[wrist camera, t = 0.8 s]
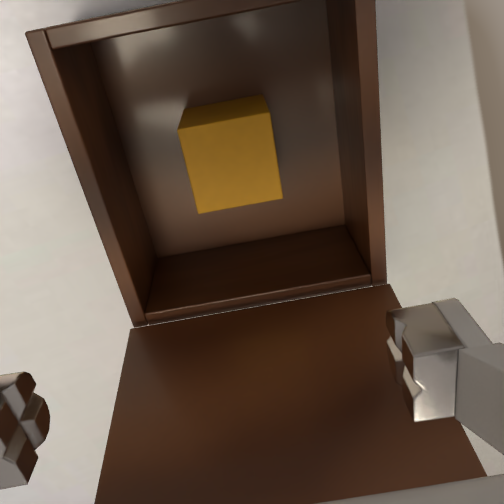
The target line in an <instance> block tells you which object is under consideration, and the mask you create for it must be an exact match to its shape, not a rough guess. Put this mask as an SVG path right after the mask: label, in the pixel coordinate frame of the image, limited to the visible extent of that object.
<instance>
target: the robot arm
mask: <svg viewBox="0 0 504 504" xmlns="http://www.w3.org/2000/svg"><path fill="white" fill-rule="evenodd" d="M386 327H387V329H388V331H389V333H390V335H391V336H390V337H389V339H388V340H387V354H388V359H389V364H390V368H391V371H392V374H393V376H394V379H395V381H396V383H397V384H399V385H401V386H402V387H403V399H404V401H405V403H406V406H407V408H408V410H409V412H410V414H411V416H412V419H413V421H414V422H419V421H427V420H434V419H442V418H449V417H455V419H456V420H458V421H459V422H460V423H462V424H463V425H464V426H466V427H467V428H468V429H470V430H471V431H472V432H474V433H475V434H476V435H478V436H479V437H480V438H482V439H483V440H484V441H486V442H487V443H488V444H490V445H491V446H492V447H494V448H495V449H496V450H498V451H499V452H500V453H502V454H503V455H504V344H502V343H495V344H493V343H492V342H491V341H490V339H489V338H488V337H487V336H486V334H485V333H484V332H483V330H482V329H481V328H480V327H479V325H478V324H477V323H476V322H475V320H474V319H473V318H472V317H471V315H470V314H469V313H468V311H467V310H466V309H465V308H464V306H463V305H462V304H461V303H460V301H459V300H458V299H456V298H451V299H446V300H440V301H435V302H432V303H428V304H423V305H417V306H411V307H405V308H400V309H394V310H388V311H386ZM35 387H36V383H35V381H34V379H33V378H32V376H31V374H30V373H27V372H18V373H11V374H4V375H0V489H6V488H11V487H16V486H21V485H27V484H28V482H29V479H30V477H31V474H32V472H33V470H34V467H35V465H36V462H37V460H38V456H37V454H36V451H35V450H36V449H37V448H38V447H39V446H40V445H41V444H42V443H43V442H44V441H45V439H46V437H47V434H48V431H49V424H50V414H49V410H48V406H47V404H46V402H45V400H44V398H42V397H40V396H39V395H37V394H35V393H34V389H35ZM315 504H504V474H500V475H494V476H487V477H481V478H474V479H468V480H462V481H455V482H449V483H443V484H436V485H430V486H423V487H417V488H411V489H404V490H398V491H392V492H385V493H379V494H373V495H366V496H360V497H353V498H347V499H340V500H334V501H328V502H321V503H315Z"/></svg>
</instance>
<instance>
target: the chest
mask: <svg viewBox="0 0 504 504" xmlns="http://www.w3.org/2000/svg"><path fill="white" fill-rule="evenodd" d="M25 35H26V38H27V40H28V43H29V46H30V49H31V51H32V54H33V57H34V59H35V62H36V65H37V67H38V70H39V73H40V75H41V78H42V81H43V84H44V86H45V89H46V92H47V94H48V97H49V100H50V102H51V105H52V108H53V111H54V113H55V116H56V119H57V121H58V124H59V127H60V129H61V132H62V135H63V138H64V140H65V143H66V146H67V148H68V151H69V154H70V156H71V159H72V162H73V164H74V167H75V170H76V173H77V175H78V178H79V181H80V183H81V186H82V189H83V191H84V194H85V197H86V200H87V202H88V205H89V208H90V210H91V213H92V216H93V218H94V221H95V224H96V227H97V229H98V232H99V235H100V237H101V240H102V243H103V245H104V248H105V251H106V253H107V256H108V259H109V262H110V264H111V267H112V270H113V272H114V275H115V278H116V280H117V283H118V286H119V289H120V291H121V294H122V297H123V299H124V302H125V305H126V307H127V310H128V313H129V316H130V318H131V321H132V324H133V326H134V327H141V326H146V325H148V324H149V325H152V324H158V323H164V322H169V321H175V320H181V319H187V318H192V317H198V316H204V315H209V314H215V313H221V312H227V311H232V310H238V309H244V308H249V307H255V306H261V305H267V304H272V303H278V302H284V301H289V300H295V299H301V298H307V297H312V296H318V295H324V294H329V293H335V292H341V291H347V290H352V289H358V288H364V287H369V286H371V285H372V286H377V285H383V284H387V273H386V249H385V225H384V201H383V177H382V153H381V129H380V105H379V82H378V58H377V34H376V10H375V0H179V1H174V2H169V3H164V4H159V5H154V6H149V7H144V8H139V9H134V10H129V11H124V12H119V13H114V14H109V15H104V16H99V17H94V18H89V19H84V20H79V21H74V22H69V23H64V24H60V25H55V26H50V27H46V28H41V29H36V30H31V31H27V32H25ZM260 94H262V95H263V96H264V99H265V101H266V104H267V106H268V109H269V111H270V115H271V121H272V128H273V134H274V141H275V148H276V154H277V161H278V167H279V174H280V180H281V187H282V193H283V198H282V199H278V200H272V201H267V202H261V203H256V204H250V205H245V206H239V207H234V208H228V209H223V210H218V211H212V212H207V213H201V214H198V212H197V208H196V204H195V200H194V196H193V192H192V188H191V184H190V180H189V176H188V172H187V168H186V164H185V160H184V156H183V152H182V148H181V144H180V140H179V136H178V132H177V129H178V126H179V123H180V120H181V117H182V114H183V110H184V109H187V108H192V107H197V106H203V105H208V104H213V103H218V102H224V101H229V100H234V99H239V98H245V97H250V96H255V95H260Z"/></svg>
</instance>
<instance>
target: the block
mask: <svg viewBox="0 0 504 504" xmlns="http://www.w3.org/2000/svg"><path fill="white" fill-rule="evenodd" d="M177 132H178V136H179V140H180V144H181V148H182V152H183V156H184V160H185V164H186V168H187V172H188V176H189V180H190V184H191V188H192V192H193V196H194V200H195V204H196V208H197V212H198V214H201V213H207V212H212V211H218V210H223V209H228V208H234V207H239V206H245V205H250V204H256V203H261V202H267V201H272V200H278V199H282V198H283V193H282V187H281V180H280V174H279V167H278V161H277V154H276V148H275V141H274V134H273V128H272V121H271V115H270V111H269V109H268V106H267V104H266V101H265V99H264V96H263V95H262V94H260V95H255V96H250V97H245V98H239V99H234V100H229V101H224V102H218V103H213V104H208V105H203V106H197V107H192V108H187V109H184V110H183V114H182V117H181V120H180V123H179V126H178V129H177Z"/></svg>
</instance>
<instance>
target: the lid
mask: <svg viewBox="0 0 504 504" xmlns="http://www.w3.org/2000/svg"><path fill="white" fill-rule="evenodd" d="M400 308H402V307H401V305H400V303H399V301H398V299H397V297H396V295H395V293H394V291H393V289H392V287H391V285H390V284H384V285H378V286H373V287H367V288H361V289H356V290H350V291H344V292H338V293H333V294H327V295H321V296H316V297H310V298H304V299H298V300H293V301H287V302H281V303H276V304H270V305H264V306H258V307H253V308H247V309H241V310H236V311H230V312H224V313H218V314H213V315H207V316H201V317H196V318H190V319H184V320H178V321H173V322H167V323H161V324H156V325H150V326H144V327H138V328H133V329H130V333H129V338H128V343H127V348H126V353H125V358H124V363H123V367H122V372H121V377H120V382H119V387H118V392H117V397H116V401H115V406H114V411H113V416H112V421H111V426H110V430H109V435H108V440H107V445H106V450H105V455H104V460H103V464H102V469H101V474H100V479H99V484H98V489H97V494H96V498H95V503H94V504H315V503H321V502H328V501H334V500H340V499H347V498H353V497H360V496H366V495H373V494H379V493H385V492H392V491H398V490H404V489H411V488H417V487H423V486H430V485H436V484H443V483H449V482H455V481H462V480H468V479H474V478H481V477H487V474H486V472H485V470H484V468H483V466H482V464H481V462H480V461H479V459H478V457H477V455H476V453H475V451H474V449H473V447H472V445H471V443H470V441H469V439H468V437H467V435H466V433H465V431H464V429H463V427H462V425H461V423H460V422H459V421H458V420H456V419H455V417H449V418H442V419H434V420H427V421H419V422H414V421H413V419H412V416H411V414H410V412H409V410H408V408H407V406H406V403H405V401H404V399H403V387H402V386H401V385H399V384H397V383H396V381H395V379H394V376H393V374H392V371H391V368H390V364H389V359H388V354H387V340H388V339H389V337H390V336H391V335H390V333H389V331H388V329H387V327H386V311H388V310H394V309H400Z"/></svg>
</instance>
